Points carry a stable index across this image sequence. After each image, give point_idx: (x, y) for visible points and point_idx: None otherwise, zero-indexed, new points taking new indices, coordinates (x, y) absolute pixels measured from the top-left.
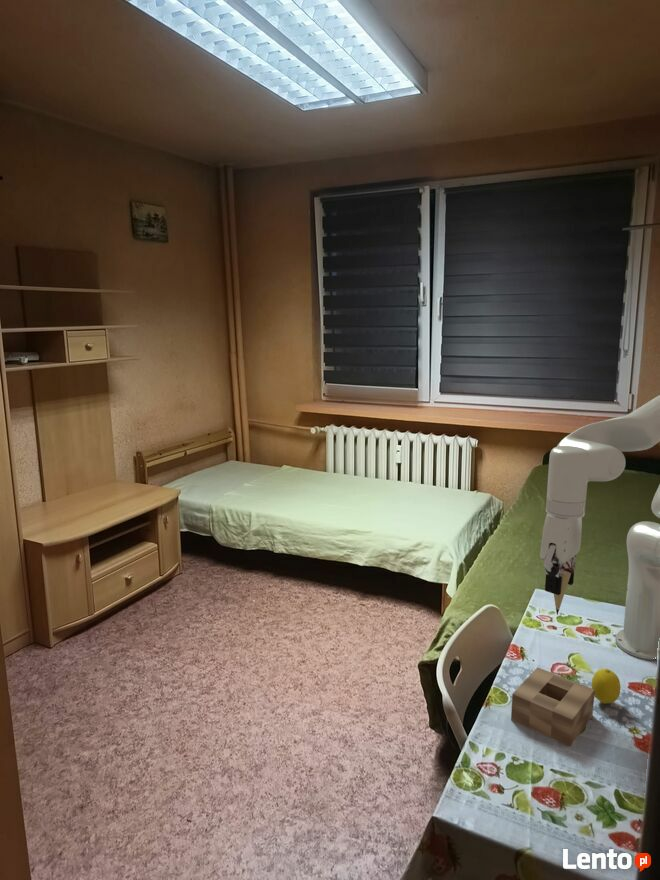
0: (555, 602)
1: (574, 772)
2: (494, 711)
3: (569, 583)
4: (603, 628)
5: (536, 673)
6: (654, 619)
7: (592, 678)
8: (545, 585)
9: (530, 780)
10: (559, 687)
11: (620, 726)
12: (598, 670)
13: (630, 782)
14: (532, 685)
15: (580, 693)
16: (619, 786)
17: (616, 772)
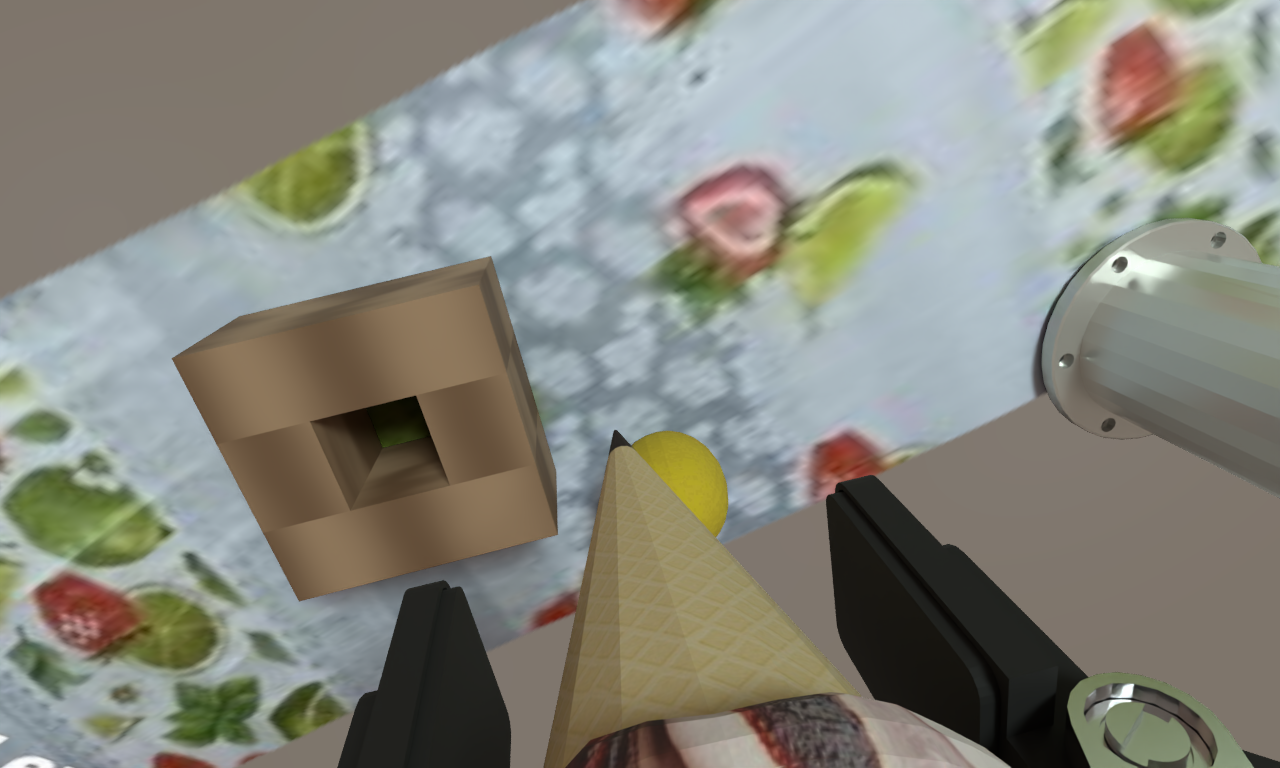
0: (602, 488)
1: (254, 596)
2: (208, 234)
3: (843, 626)
4: (1205, 130)
5: (428, 317)
6: (1239, 470)
7: (651, 458)
8: (391, 645)
9: (78, 552)
10: (436, 447)
11: (584, 548)
12: (678, 489)
13: None
14: (325, 371)
15: (479, 521)
16: (337, 681)
17: (379, 650)
